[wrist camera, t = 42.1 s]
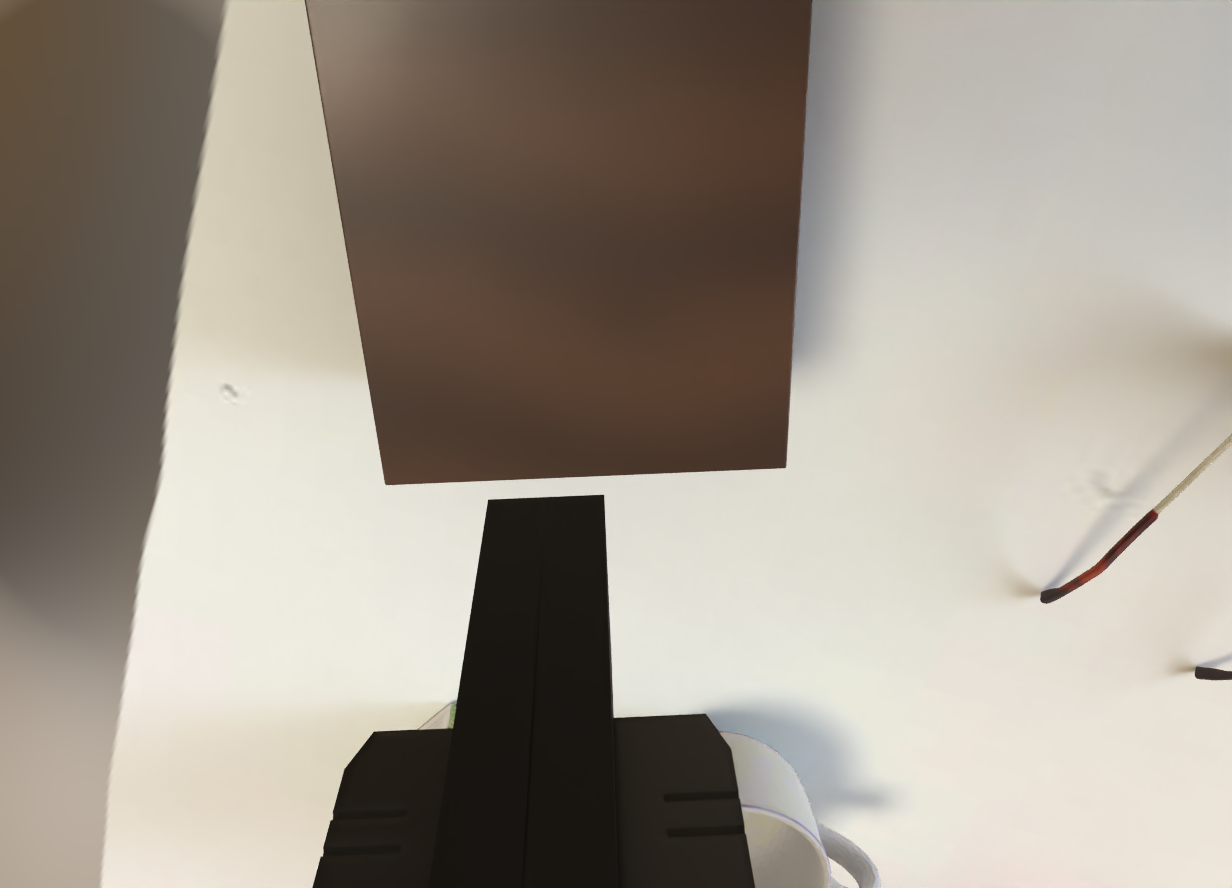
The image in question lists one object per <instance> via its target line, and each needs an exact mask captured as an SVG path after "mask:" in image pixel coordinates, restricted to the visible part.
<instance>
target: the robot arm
mask: <svg viewBox="0 0 1232 888" xmlns="http://www.w3.org/2000/svg"><path fill="white" fill-rule="evenodd" d="M323 849H324V854H323V857H321V858H320V862H319V866H318V869H317V873H316V877H315V880H314V884H313V888H755V883H754V877H753V871H752V866H751V860H750V854H749V848H748V842H747V837H746V834H745V825H744V819H743V813H742V808H741V802H740V799H739V790H738V784H737V779H736V773H735V767H734V761H733V756H732V750H731V748H730V746H729V745H728V744H727V742H726V741H725V739H724V738H723V737H722V735H721V734H720V733H719V731H718V730H717V729H716V727H715V726H714V725H713V723H712V722H711V720H710V719H709V718H708V716H707V715H706V714H692V715H670V716H647V717H625V718H614V717H613V690H612V663H611V640H610V618H609V596H608V573H607V551H606V529H605V506H604V495H588V496H565V497H542V498H518V499H495V500H488V505H487V511H486V518H485V524H484V531H483V537H482V544H481V550H480V556H479V563H478V569H477V576H476V582H475V589H474V595H473V602H472V608H471V615H470V621H469V628H468V634H467V641H466V647H465V653H464V660H463V666H462V673H461V679H460V686H459V692H458V699H457V705H456V712H455V718H454V725H453V728H445V729H423V730H401V731H378V732H373V734H372V735H371V736H370V738H369V739H368V740H367V741H366V743H365V744H364V745H363V746H362V748H361V749H360V750H359V752H358V753H357V754H356V755H355V757H354V758H353V759H352V760H351V762H350V763H349V764H348V766H347V767H346V768H345V769H344V773H343V777H342V781H341V784H340V788H339V792H338V795H337V799H336V803H335V806H334V810H333V820H331V821H330V825H329V829H328V832H327V836H326V840H325V843H324V847H323Z"/></svg>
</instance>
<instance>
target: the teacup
mask: <svg viewBox="0 0 1232 888" xmlns="http://www.w3.org/2000/svg"><path fill="white" fill-rule="evenodd" d="M719 733H720V734H721V735H722V737H723V738H724V739H725V741H726V742H727V744H728V745H729V746H730V748H731V750H732V756H733V761H734V767H735V773H736V779H737V784H738V790H739V799H740V802H741V808H742V813H743V819H744V825H745V834H746V837H747V842H748V848H749V854H750V860H751V866H752V871H753V877H754V883H755V888H847V887H844V886H842V885H840V884H839V883H838V882H837V881H835V880H834V879H833V877H832V876H831V869H830V864H829V860H828V857H829V858H831V859H833V860H834V861H836V862H837V863H838V864H840V865H841V866H842V867H844V868H845V869H846V870H847V871H848V872H849V873H850V874H851V875H852V876H853V877H854V878H855V880H856V881H857V883H858V885H859V888H881V883H880V877H879V873H878V870H877V868H876V866H875V865H874V863H873V862H872V861H871V859H870V858H869V857H868V855H867V854H866V853H865V852H863V851H862V850H861V849H860V848H859V847H858V846H856V845H855V844H854V843H853V842H852V841H850V840H848V839H847V838H845V837H843V836H842V835H840V834H838V833H837V832H835V831H833V830H831V829H829V828H827V827H825V826H823V825H822V824H820V823H819V822H818V821H817V820H816V819H815V818H814V815H813V812H812V809H811V806H810V803H809V800H808V797H807V794H806V792H805V790H804V787H803V785H802V783H801V781H800V779H799V777H798V775H797V774H796V772H795V771H794V770H793V768H792V767H791V765H790V764H789V763H788V762H787V761H786V760H785V759H784V758H783V757H782V756H781V755H780V754H778V753H777V752H776V751H775V750H773V749H772V748H771V747H769V746H767V745H765V744H764V743H762V742H760V741H758V740H755V739H753V738H750V737H747V736H744V735H740V734H736V733H729V732H719Z"/></svg>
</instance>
